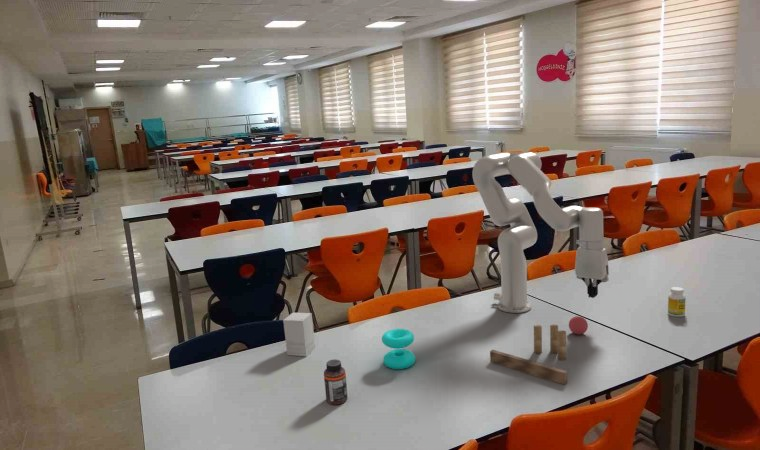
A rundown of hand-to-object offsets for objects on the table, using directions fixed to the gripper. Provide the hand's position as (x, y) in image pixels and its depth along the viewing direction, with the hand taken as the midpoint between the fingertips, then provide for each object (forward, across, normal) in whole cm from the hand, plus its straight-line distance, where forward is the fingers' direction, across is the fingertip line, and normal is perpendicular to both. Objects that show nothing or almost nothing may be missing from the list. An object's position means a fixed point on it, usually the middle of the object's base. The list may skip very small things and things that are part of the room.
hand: (592, 296), depth 187 cm
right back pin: (+11, +3, -30) cm, 31 cm away
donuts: (+10, -35, -62) cm, 71 cm away
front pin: (+10, -1, -26) cm, 29 cm away
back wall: (+10, -1, -44) cm, 45 cm away
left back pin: (+10, -5, -30) cm, 32 cm away
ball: (+8, -1, -10) cm, 12 cm away
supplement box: (+9, -68, -74) cm, 101 cm away
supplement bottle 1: (+10, -34, -88) cm, 95 cm away
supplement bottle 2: (+11, +19, +26) cm, 34 cm away
